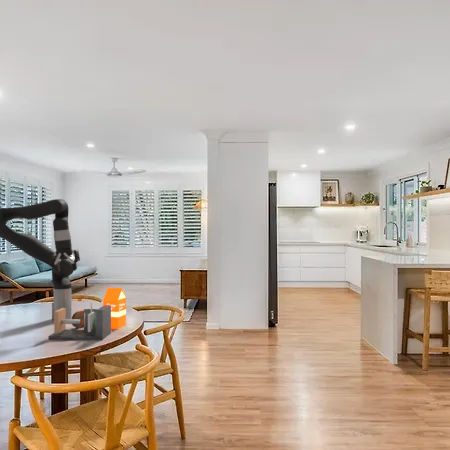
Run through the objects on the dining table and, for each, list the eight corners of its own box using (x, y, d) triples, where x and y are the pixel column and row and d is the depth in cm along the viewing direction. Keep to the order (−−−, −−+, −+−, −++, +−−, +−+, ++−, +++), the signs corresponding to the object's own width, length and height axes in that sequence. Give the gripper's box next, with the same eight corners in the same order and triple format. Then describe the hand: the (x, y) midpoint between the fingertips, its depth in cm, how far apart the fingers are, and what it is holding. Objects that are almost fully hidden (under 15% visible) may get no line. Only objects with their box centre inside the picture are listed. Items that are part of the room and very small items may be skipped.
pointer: (87, 332, 180) (87, 303, 180) (92, 328, 186) (92, 301, 186) (89, 332, 180) (90, 303, 180) (94, 328, 186) (94, 301, 186)
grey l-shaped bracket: (48, 339, 178) (48, 309, 179) (60, 332, 190) (60, 304, 191) (102, 340, 178) (102, 310, 178) (111, 332, 190) (111, 305, 190)
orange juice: (117, 329, 197) (118, 289, 197) (102, 327, 199) (102, 288, 199) (126, 325, 204) (126, 287, 204) (111, 324, 207) (111, 286, 207)
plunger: (54, 333, 179) (54, 311, 179) (62, 328, 187) (62, 308, 187) (75, 333, 179) (75, 311, 179) (82, 329, 187) (82, 308, 187)
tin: (74, 329, 196) (74, 312, 196) (70, 328, 198) (70, 312, 198) (98, 323, 209) (98, 307, 209) (94, 322, 210) (94, 307, 211)
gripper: (45, 241, 193) (49, 273, 194) (72, 238, 191) (76, 271, 192) (53, 239, 200) (57, 270, 201) (79, 237, 198) (83, 268, 200)
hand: (66, 271), depth 197 cm, fingers open, 8 cm apart
